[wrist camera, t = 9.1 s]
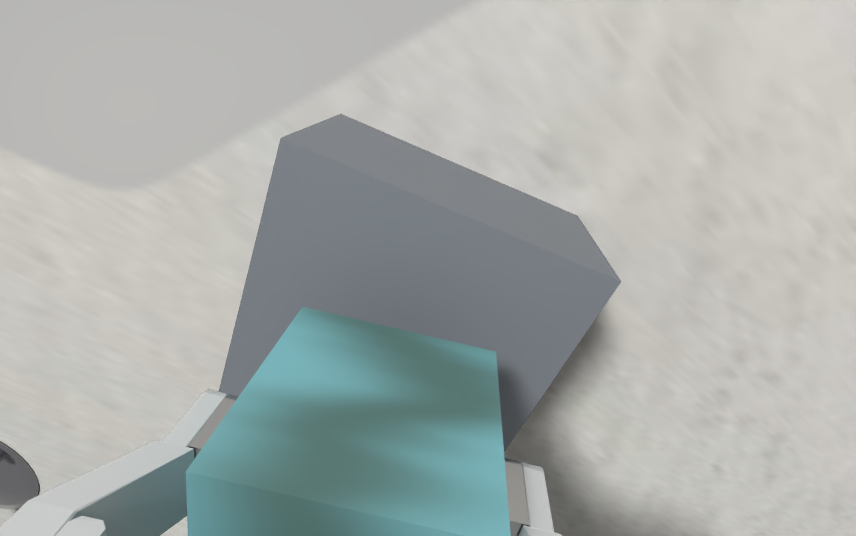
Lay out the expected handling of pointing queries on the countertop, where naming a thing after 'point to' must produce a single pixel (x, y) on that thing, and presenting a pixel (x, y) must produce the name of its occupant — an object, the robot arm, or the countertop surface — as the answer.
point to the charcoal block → (418, 259)
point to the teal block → (357, 439)
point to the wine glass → (15, 479)
